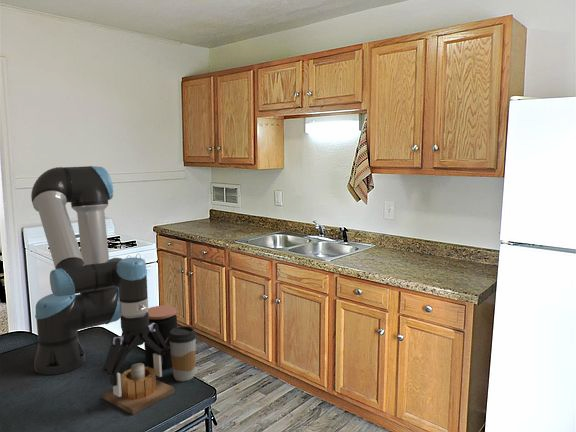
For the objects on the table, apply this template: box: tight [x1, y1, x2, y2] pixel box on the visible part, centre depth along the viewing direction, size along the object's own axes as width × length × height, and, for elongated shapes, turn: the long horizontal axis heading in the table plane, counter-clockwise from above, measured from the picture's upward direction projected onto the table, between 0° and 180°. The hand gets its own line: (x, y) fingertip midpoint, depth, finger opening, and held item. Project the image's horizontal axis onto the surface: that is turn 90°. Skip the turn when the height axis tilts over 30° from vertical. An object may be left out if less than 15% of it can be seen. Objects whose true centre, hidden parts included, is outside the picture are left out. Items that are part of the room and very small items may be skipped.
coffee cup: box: [169, 325, 197, 382], centre depth 142 cm, size 8×8×15 cm
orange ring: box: [120, 366, 157, 399], centre depth 131 cm, size 9×9×5 cm
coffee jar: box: [143, 305, 178, 370], centre depth 151 cm, size 11×11×18 cm
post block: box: [102, 362, 176, 416], centre depth 131 cm, size 14×14×9 cm
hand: (138, 385), depth 131 cm, fingers open, 13 cm apart
